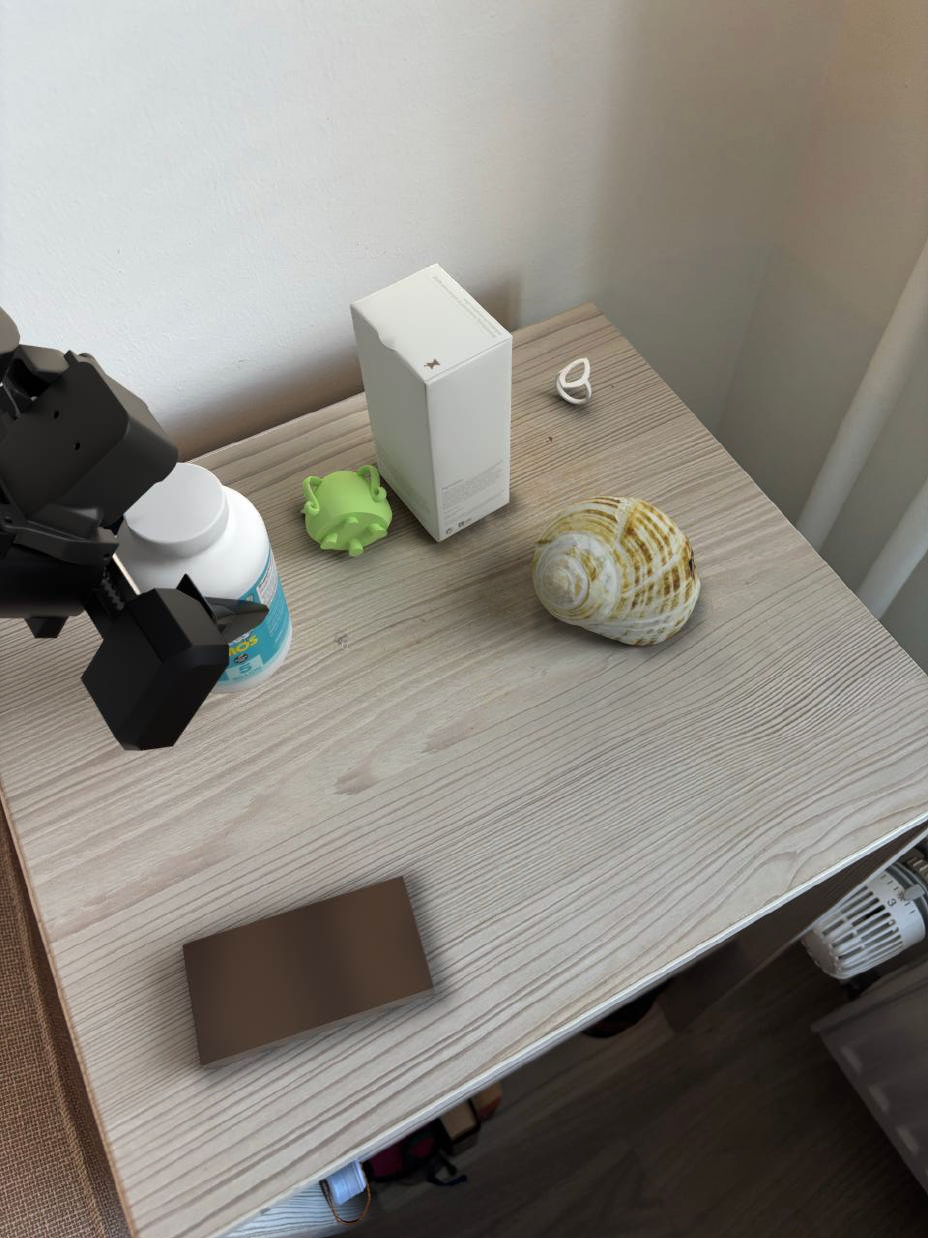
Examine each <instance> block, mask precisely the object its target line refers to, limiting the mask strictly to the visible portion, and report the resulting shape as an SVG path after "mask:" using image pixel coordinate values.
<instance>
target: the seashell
mask: <svg viewBox="0 0 928 1238" xmlns="http://www.w3.org/2000/svg"><path fill="white" fill-rule="evenodd" d="M696 563H697V562H696V560H695V554H694V551H693V547H692V543H691V541H690V539H689V537H688V536H687V534H686V533H685V532H683V531H682V530H680V529H679V527H678V525H677V524H676V523H675V521H673V519H672V518H670V517H669V516H668V515H667V514H666V513H665V512H663V511H662V510H661V509H659V508H658V507H656V506H654V505H653V504H651V503H650V502H647V501H645V500H643V499H641V498H638V497H628V498H627V497H624V496H618V495H597V496H593V497H587V498H583V499H581V500H577V501H575V502H572V503H571V504H569V505H567V506H566V507H565V508H564V509H563V510H562V511H560V512H559V513H558V514H557V515H556V516H555V517H554V518H552V519H551V520H550V521H549V522H548V524H547V525H546V526H545V527H544V528H543V530H542V532H541V533H540V535H538V538H537V539H536V542H535V545H534V553H533V555H532V560H531V579H532V580H531V581H532V584H533V587H534V591H535V594H536V595H537V598H538V600H539V602H540V603H541V604H542V605H543V607H544V608H545V609H546V610H547V611H548V613H550V615H551V616H553V617H554V618H556V619H558V620H559V621H561V622H563V623H565V624H570V625H573V626H580V627H582V629H584V630H587V631H589V632H593V633H595V634H598V635H599V636H602V637H604V638H608V639H610V640H613V641H618V642H619V643H624V644H627V645H633V646H653V645H656V644H660V643H663V642H665V641H666V640H669V639H671V638H672V637H673V636H675V635H676V633H678V632H679V631H680V630H681V629H682V628H683V626H685V624H686V623H687V622H688V620H689V618H690V617H691V614H692V613H693V611H694V609H695V607H696V604H697V601H698V598H699V595H700V593H701V581H700V577H699V572H698V567H697V564H696Z"/></svg>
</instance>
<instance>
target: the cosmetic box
mask: <svg viewBox="0 0 928 1238" xmlns="http://www.w3.org/2000/svg"><path fill="white" fill-rule="evenodd" d="M349 310H350V315H351V322H352V325H353V326H352V327H353V332H354V338H355V344H356V349H357V355H358V360H359V361H358V362H359V366H360V372H361V376H362V377H361V379H362V383H363V388H364V394H365V399H366V400H365V401H366V407H367V413H368V417H369V423H370V429H371V435H372V438H373V445H374V453H375V458H376V464H377V470H378V472H379V475H380V476H381V477H382V478H383V480H385V482H386V483H387V484H388V485H389V486H390V488H391V489H392V490H393V492H394V493H395V494H396V495H397V497H398V498H399V499H400V500H401V502H403V504H404V505H405V506H406V507H407V509H408V510H409V511H410V512H411V513H412V515H413V516H414V517H415V518H416V519H417V520H418V522H419V523H420V524H421V525H422V526H423V527H424V529H425V530H426V531H427V533H429V535H430V536H431V537H432V538H433V539H434V540H435V542H437V543H441V542H443V541H444V540H446V539H448V538H449V537H451V536H453V535H455V534H456V533H458V532H460V531H462V530H464V529H465V528H468V527H470V526H471V525H473V524H474V523H476V522H478V521H480V520H481V519H483V518H485V517H486V516H488V515H490V514H492V513H493V512H495V511H497V510H498V509H501V508H502V507H504V506H505V505H507V504H509V503H510V477H511V475H510V474H511V422H512V421H511V420H512V419H511V418H512V417H511V416H512V375H513V374H512V370H513V368H512V365H513V364H512V360H513V338H514V336H513V335H512V334H511V333H510V332H509V331H508V330H507V329H506V328H504V327H503V326H502V325H501V324H500V322H498V321H497V320H496V319H495V318H494V317H493V316H492V315H491V314H490V313H489V312H488V311H487V310H486V309H485V308H484V307H482V305H481V304H479V302H477V300H475V298H474V297H472V296H471V295H470V294H469V293H468V292H467V291H466V290H465V289H464V288H463V287H462V286H461V285H460V284H459V282H457V281H456V280H455V279H454V278H453V277H452V276H451V275H449V273H447V272H446V271H445V269H444V268H442V267H441V266H440V265H439V264H438V263H434V264H431V265H429V266H427V267H425V268H422V269H420V270H418V271H416V272H414V273H412V274H410V275H409V276H407V277H406V276H405V278H402V279H401V280H398V281H397V282H395V283H393V284H389V285H388V286H386V287H384V288H382V289H380V290H377V291H375V292H373V293H371V294H369V295H366V296H364V297H362V298H360V299H358V300H356V301H354V302H352V303H350V304H349Z"/></svg>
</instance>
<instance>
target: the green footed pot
mask: <svg viewBox="0 0 928 1238" xmlns="http://www.w3.org/2000/svg"><path fill="white" fill-rule="evenodd" d="M369 472H370V473H369ZM368 473H369V474H370V479H369V478H367V477H366V476H367V474H368ZM380 478H381V477H380V473H379V471H378V468H377V467H375V466H373V465H369V464H366V465H362V466H360V467H359V469H358V470H357V471H351V470H336V471H333V472H330V473H328V474H327V475H325V476H324V477H323V478H321V477H318V476H315V475H311V476H308V477H305V479H304V480H303V481H302V483H301V490H302V493H303V495H304V498H305V500H306V502H305V504H304V506H303V509H302V510H300V513H301V514H304V515H305V516H304V517H305V519H304V520H305V528H306V529H305V530H306V532H307V534H308V536H310V538H311V539H313V540H314V541H315V542H316V543H318V544H319V545H320V549H322V550H334V551H335V550H336V551H348V555H349V556H350V557H358V556H361V555H363V553H364V552H365V551H364V547H366V546H369V545H371V544H372V543H374V542H375V541H377V540H379V539H382V538H384V537H386V536H388V531H387V530H388V529H389V526H390V524H391V522H392V519H393V512H392V508H391V505H390V504H389V501H388V500H387V498H386V497H387V491H386V489H385V488H384V487H383V486H380V485H381V484H380V483H381V481H380ZM311 485H313V486H314V487H313V488H311Z"/></svg>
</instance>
